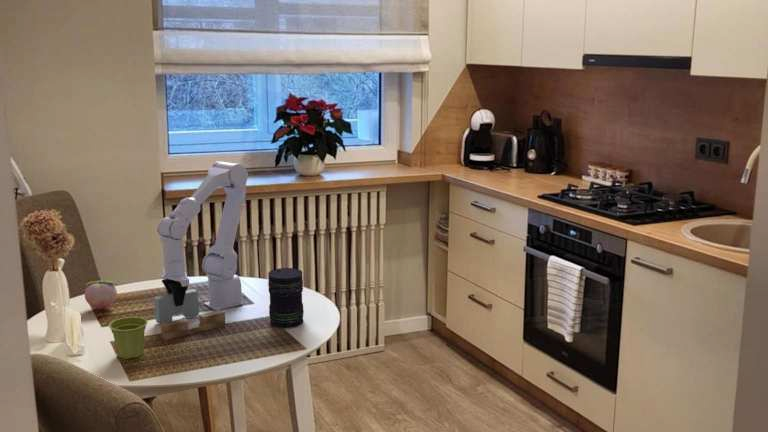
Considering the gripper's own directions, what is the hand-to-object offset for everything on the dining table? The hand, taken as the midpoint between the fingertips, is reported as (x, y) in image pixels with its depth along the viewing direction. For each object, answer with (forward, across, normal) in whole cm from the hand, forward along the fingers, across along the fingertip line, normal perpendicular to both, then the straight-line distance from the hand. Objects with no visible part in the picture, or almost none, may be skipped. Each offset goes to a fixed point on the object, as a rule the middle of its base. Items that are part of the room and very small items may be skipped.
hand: (176, 303), depth 223 cm
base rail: (+5, +11, 0) cm, 12 cm away
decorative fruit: (+5, -23, -14) cm, 27 cm away
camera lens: (+5, +21, +24) cm, 32 cm away
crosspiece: (+4, 0, 0) cm, 4 cm away
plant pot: (+5, +16, -20) cm, 26 cm away
